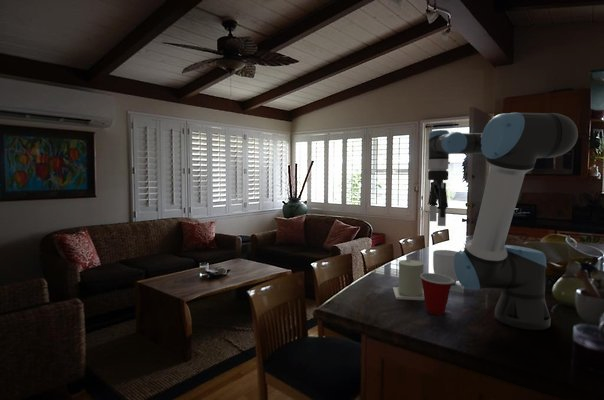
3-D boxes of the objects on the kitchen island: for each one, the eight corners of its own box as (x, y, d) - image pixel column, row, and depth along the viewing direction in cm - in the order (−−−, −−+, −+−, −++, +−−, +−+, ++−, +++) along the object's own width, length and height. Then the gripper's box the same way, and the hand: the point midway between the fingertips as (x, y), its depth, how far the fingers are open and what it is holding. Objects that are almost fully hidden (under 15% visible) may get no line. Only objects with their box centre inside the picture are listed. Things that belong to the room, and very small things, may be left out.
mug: (474, 286, 152) (475, 254, 151) (458, 290, 146) (459, 258, 145) (443, 277, 164) (443, 248, 163) (427, 281, 158) (427, 251, 157)
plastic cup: (455, 319, 117) (456, 282, 116) (419, 316, 120) (420, 279, 119) (451, 307, 128) (452, 273, 127) (419, 304, 131) (419, 271, 130)
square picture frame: (429, 300, 135) (429, 298, 135) (396, 299, 137) (396, 296, 136) (423, 290, 147) (423, 288, 147) (392, 289, 148) (392, 286, 148)
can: (416, 287, 147) (416, 258, 146) (427, 295, 138) (428, 263, 137) (394, 289, 145) (394, 259, 144) (404, 296, 136) (405, 264, 135)
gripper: (457, 169, 133) (456, 228, 135) (439, 170, 158) (438, 219, 160) (436, 169, 134) (435, 227, 136) (421, 170, 159) (420, 219, 160)
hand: (437, 223), depth 148 cm, fingers open, 13 cm apart
